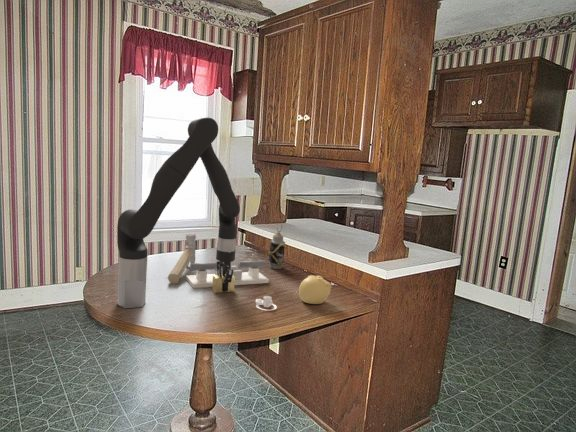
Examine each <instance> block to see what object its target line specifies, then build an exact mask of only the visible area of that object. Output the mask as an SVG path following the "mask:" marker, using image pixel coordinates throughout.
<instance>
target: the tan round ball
mask: <svg viewBox="0 0 576 432" xmlns="http://www.w3.org/2000/svg"><path fill="white" fill-rule="evenodd" d="M331 291H332V284H331V282H329V281H327V280H326V279H324V277H323V276H321V275H313V274H310V275H307V277H305V278H304V279H303V280H302V281H301V282H300V285H299V288H298V294H299V297H300V299H301V301H303V303H305V304H306V303H307V304H311V305H320V304H321V305H322V304H323V303H324V302H325V301H326V300H327V298H328V296H329V295H330V294H331Z"/></svg>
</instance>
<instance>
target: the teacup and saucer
mask: <svg viewBox="0 0 576 432" xmlns="http://www.w3.org/2000/svg"><path fill="white" fill-rule="evenodd" d="M262 298H263V299H261V298H256V299H255V307H256V308H257V309H259V310H262V311H267V312H269V311H270V312H271V311H275V310H277V308H278V306H277V305H276V304H274V303H273V299H272V296H270V295H264V296H263V297H262ZM260 306H263V307H264V308H261V307H260ZM271 306H273V308H271V309H270V307H271ZM265 308H269V309H265Z"/></svg>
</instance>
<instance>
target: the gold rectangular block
mask: <svg viewBox="0 0 576 432" xmlns="http://www.w3.org/2000/svg"><path fill="white" fill-rule="evenodd" d="M222 286H223V277H222V275H213V283H212V287H211V288H212V292H213V293H215V294H216V293H218V294H219V293H224V292H223V291H222ZM235 286H236V285H235V277H234V276H232V280H231V282H229V283H228V291H226V292H225V293H231V292H235ZM230 291H231V292H230Z"/></svg>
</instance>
